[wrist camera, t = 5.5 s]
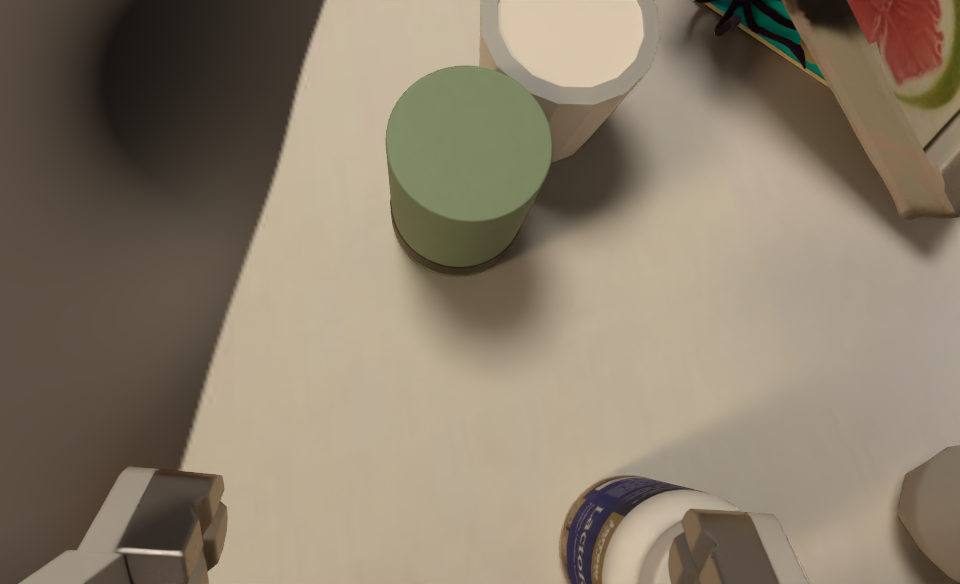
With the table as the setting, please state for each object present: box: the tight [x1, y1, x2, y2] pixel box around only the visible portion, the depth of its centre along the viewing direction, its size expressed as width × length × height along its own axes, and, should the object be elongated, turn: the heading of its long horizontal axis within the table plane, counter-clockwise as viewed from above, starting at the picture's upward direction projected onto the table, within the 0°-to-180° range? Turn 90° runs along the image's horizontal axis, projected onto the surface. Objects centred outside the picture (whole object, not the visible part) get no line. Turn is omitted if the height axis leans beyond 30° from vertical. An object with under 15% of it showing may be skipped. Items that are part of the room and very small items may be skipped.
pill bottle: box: [560, 476, 810, 584], centre depth 23 cm, size 6×6×10 cm
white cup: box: [479, 0, 660, 163], centre depth 28 cm, size 7×7×7 cm
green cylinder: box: [386, 66, 553, 277], centre depth 26 cm, size 6×6×8 cm
